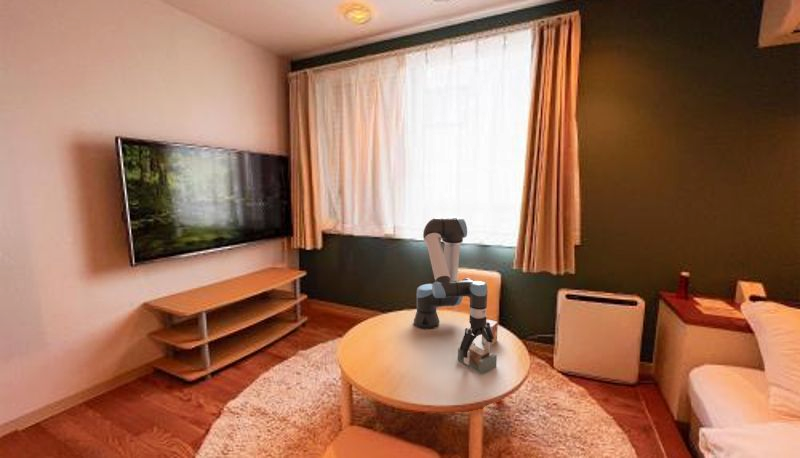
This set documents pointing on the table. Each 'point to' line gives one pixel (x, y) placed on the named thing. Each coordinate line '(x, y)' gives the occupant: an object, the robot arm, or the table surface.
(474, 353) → the rail end
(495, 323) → the small box
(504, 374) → the table surface
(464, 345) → the robot arm
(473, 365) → the bracket
